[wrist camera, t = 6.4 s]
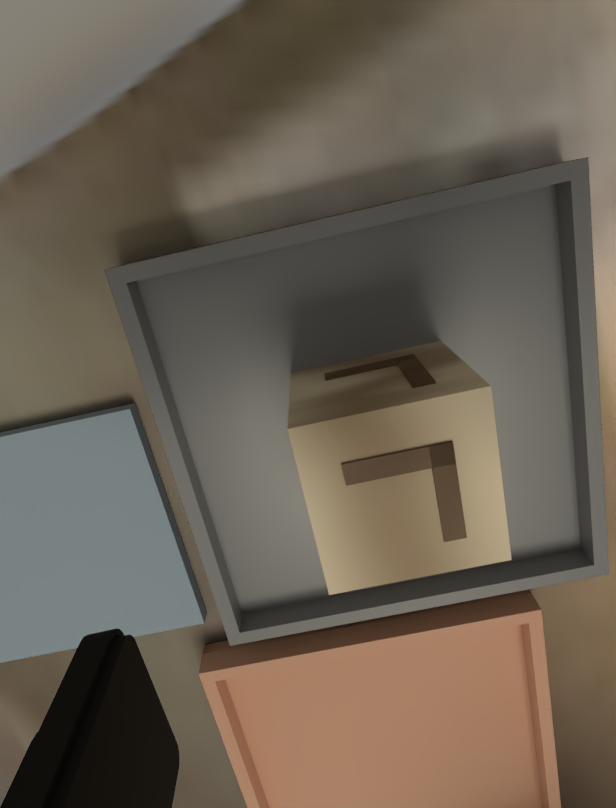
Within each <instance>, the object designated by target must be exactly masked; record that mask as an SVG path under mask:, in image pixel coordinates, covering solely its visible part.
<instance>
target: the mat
mask: <svg viewBox="0 0 616 808" xmlns="http://www.w3.org/2000/svg"><path fill="white" fill-rule="evenodd" d="M206 614H207V612H206V609H205V606H204V603H203V600H202V597H201V594H200V591H199V588H198V585H197V583H196V580H195V577H194V574H193V571H192V568H191V565H190V562H189V559H188V556H187V553H186V550H185V548H184V545H183V542H182V539H181V536H180V533H179V530H178V527H177V524H176V521H175V518H174V515H173V513H172V510H171V507H170V504H169V501H168V498H167V495H166V492H165V489H164V486H163V483H162V480H161V478H160V475H159V472H158V469H157V466H156V463H155V460H154V457H153V454H152V451H151V448H150V445H149V443H148V440H147V437H146V434H145V431H144V428H143V425H142V422H141V419H140V416H139V413H138V410H137V408H136V405H135V403H133V404H128V405H124V406H119V407H115V408H110V409H105V410H101V411H96V412H92V413H87V414H82V415H78V416H73V417H69V418H64V419H60V420H55V421H50V422H46V423H41V424H37V425H32V426H27V427H23V428H18V429H14V430H9V431H4V432H0V663H1V662H6V661H12V660H17V659H22V658H27V657H32V656H37V655H43V654H48V653H53V652H58V651H63V650H69V649H74V648H78V646H79V644H80V642H81V640H82V639H83V637H84V636H86V635H89V634H93V633H98V632H102V631H107V630H112V629H120V630H121V631H122V632H123V633H124V635H132V636H133V637H136V636H141V635H147V634H152V633H157V632H162V631H167V630H173V629H178V628H183V627H188V626H193V625H198V624H204V623H205V619H206Z"/></svg>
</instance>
